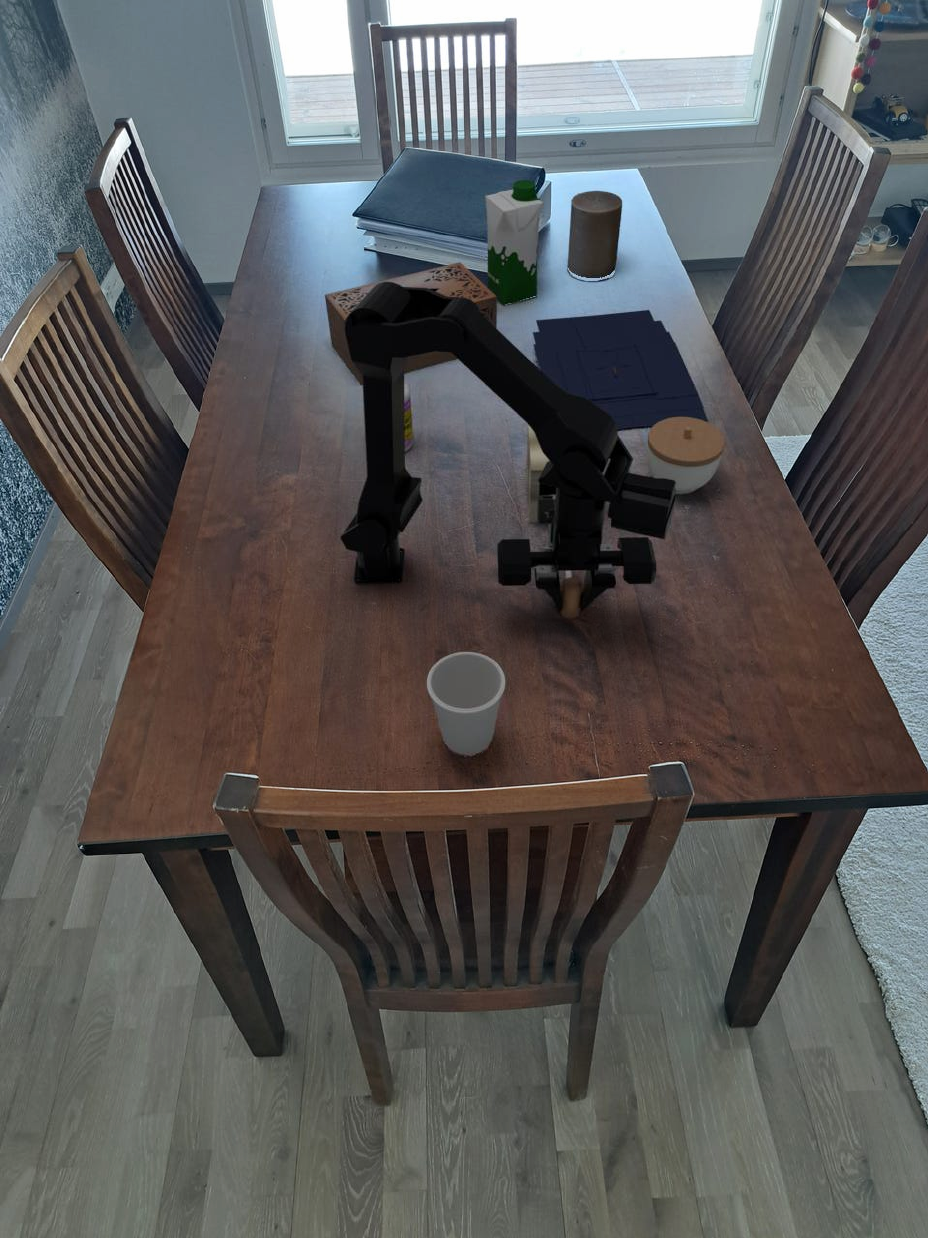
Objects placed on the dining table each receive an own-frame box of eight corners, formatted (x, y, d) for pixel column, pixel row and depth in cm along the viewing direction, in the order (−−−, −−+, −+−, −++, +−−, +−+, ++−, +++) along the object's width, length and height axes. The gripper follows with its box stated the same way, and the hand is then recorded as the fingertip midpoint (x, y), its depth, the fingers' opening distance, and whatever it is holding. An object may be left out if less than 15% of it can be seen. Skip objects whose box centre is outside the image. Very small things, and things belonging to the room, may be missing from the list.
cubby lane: (591, 521, 129) (597, 469, 122) (529, 522, 129) (531, 470, 122) (585, 472, 136) (590, 421, 130) (526, 473, 137) (527, 421, 130)
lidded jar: (718, 465, 137) (730, 412, 130) (711, 509, 130) (724, 456, 123) (646, 454, 139) (655, 402, 132) (636, 497, 132) (644, 444, 125)
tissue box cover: (461, 313, 171) (460, 261, 163) (496, 349, 162) (496, 296, 154) (332, 347, 163) (324, 294, 156) (361, 386, 154) (355, 332, 147)
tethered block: (589, 618, 116) (593, 591, 112) (550, 618, 116) (552, 590, 112) (583, 522, 129) (586, 494, 125) (548, 522, 129) (549, 494, 125)
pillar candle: (623, 266, 182) (632, 189, 171) (602, 286, 176) (609, 208, 165) (580, 255, 185) (586, 179, 174) (557, 275, 180) (562, 197, 169)
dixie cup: (504, 707, 106) (505, 651, 99) (503, 767, 101) (504, 712, 93) (433, 706, 107) (429, 649, 100) (428, 765, 101) (423, 710, 94)
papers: (657, 321, 164) (660, 304, 161) (706, 434, 147) (711, 417, 144) (524, 334, 162) (525, 316, 159) (558, 449, 145) (560, 432, 142)
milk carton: (543, 298, 173) (548, 190, 159) (500, 309, 171) (501, 200, 156) (522, 279, 179) (525, 173, 164) (480, 289, 176) (479, 182, 162)
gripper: (651, 470, 110) (636, 564, 121) (496, 472, 110) (495, 566, 121) (665, 531, 102) (647, 625, 113) (498, 533, 102) (497, 627, 114)
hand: (570, 608), depth 116 cm, fingers closed on tethered block, 2 cm apart
